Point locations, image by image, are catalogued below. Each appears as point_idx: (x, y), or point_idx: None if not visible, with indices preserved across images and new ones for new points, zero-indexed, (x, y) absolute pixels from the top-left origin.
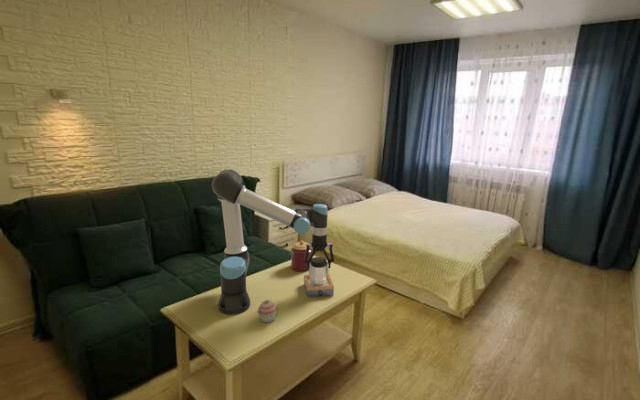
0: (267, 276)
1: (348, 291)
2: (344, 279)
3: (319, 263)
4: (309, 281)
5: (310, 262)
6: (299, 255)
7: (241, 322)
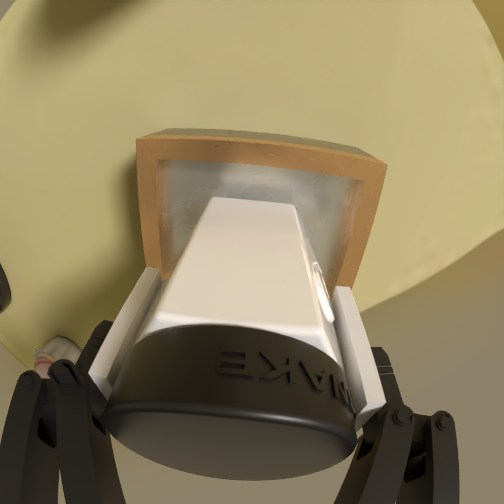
0: (10, 46)
1: (412, 273)
2: (462, 140)
3: (221, 476)
4: (182, 213)
5: (109, 387)
6: None
7: (27, 335)
